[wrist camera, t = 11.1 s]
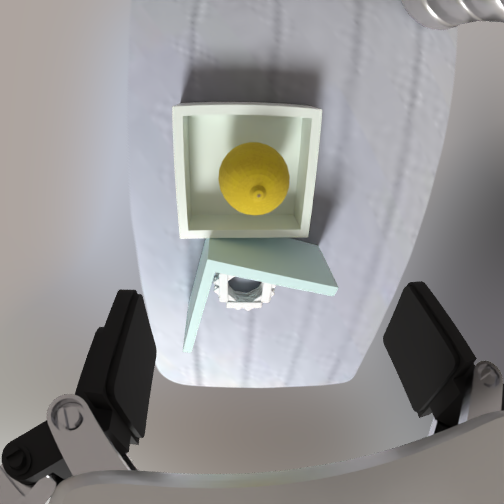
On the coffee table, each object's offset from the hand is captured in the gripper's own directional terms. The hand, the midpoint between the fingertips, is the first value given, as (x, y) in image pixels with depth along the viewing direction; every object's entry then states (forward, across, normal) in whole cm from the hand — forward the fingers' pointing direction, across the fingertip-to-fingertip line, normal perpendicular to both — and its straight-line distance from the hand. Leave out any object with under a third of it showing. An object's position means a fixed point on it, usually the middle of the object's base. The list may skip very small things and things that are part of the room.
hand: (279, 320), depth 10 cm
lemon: (+20, 0, 0) cm, 20 cm away
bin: (+20, 0, 0) cm, 20 cm away
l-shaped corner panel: (+20, -1, +13) cm, 25 cm away
